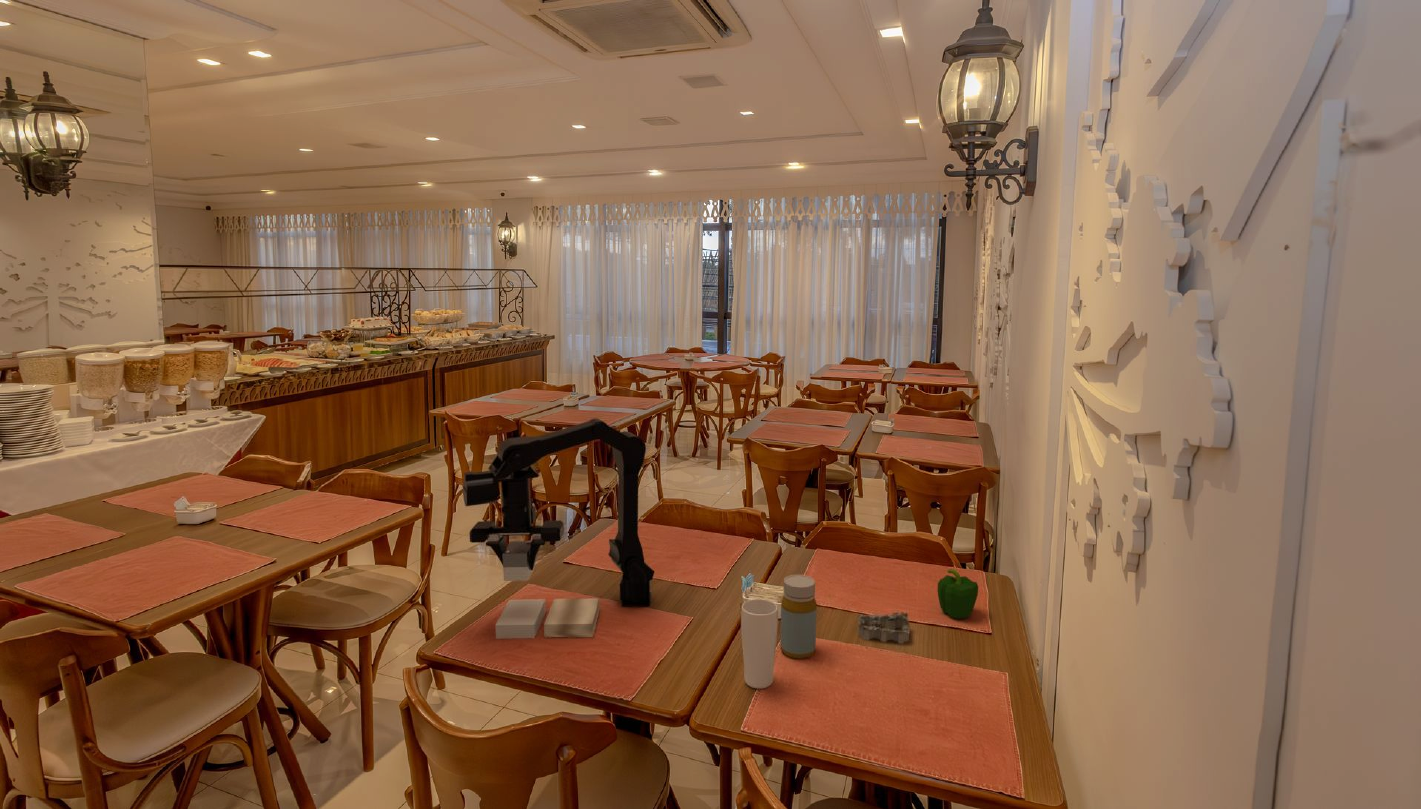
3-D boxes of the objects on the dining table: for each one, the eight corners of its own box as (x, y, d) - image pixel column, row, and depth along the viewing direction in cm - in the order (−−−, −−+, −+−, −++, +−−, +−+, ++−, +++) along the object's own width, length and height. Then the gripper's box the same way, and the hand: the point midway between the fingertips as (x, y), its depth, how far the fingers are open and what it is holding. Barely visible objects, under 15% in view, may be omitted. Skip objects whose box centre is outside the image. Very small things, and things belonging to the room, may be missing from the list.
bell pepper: (984, 619, 159) (987, 576, 157) (953, 625, 156) (956, 581, 154) (959, 603, 166) (962, 562, 165) (929, 608, 164) (932, 567, 162)
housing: (534, 567, 157) (533, 539, 156) (528, 580, 151) (526, 552, 149) (511, 567, 157) (510, 540, 156) (503, 581, 150) (502, 552, 149)
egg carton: (909, 630, 154) (910, 612, 154) (909, 647, 147) (910, 628, 146) (858, 623, 157) (859, 606, 156) (855, 640, 150) (856, 621, 149)
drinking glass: (778, 692, 131) (779, 615, 128) (740, 692, 131) (741, 615, 128) (775, 672, 137) (777, 598, 135) (740, 671, 137) (740, 598, 135)
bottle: (818, 645, 147) (820, 576, 145) (811, 662, 141) (813, 590, 138) (784, 640, 149) (786, 571, 147) (776, 656, 143) (778, 585, 140)
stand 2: (599, 610, 162) (599, 598, 162) (592, 637, 151) (592, 623, 150) (554, 611, 162) (554, 599, 162) (544, 637, 150) (543, 624, 150)
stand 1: (545, 611, 162) (545, 599, 161) (534, 638, 150) (534, 624, 150) (510, 612, 162) (509, 599, 161) (496, 638, 150) (495, 625, 149)
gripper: (567, 487, 159) (569, 554, 162) (481, 488, 159) (485, 555, 161) (558, 503, 148) (561, 574, 151) (466, 504, 148) (471, 576, 150)
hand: (519, 569), depth 154 cm, fingers closed on housing, 5 cm apart
